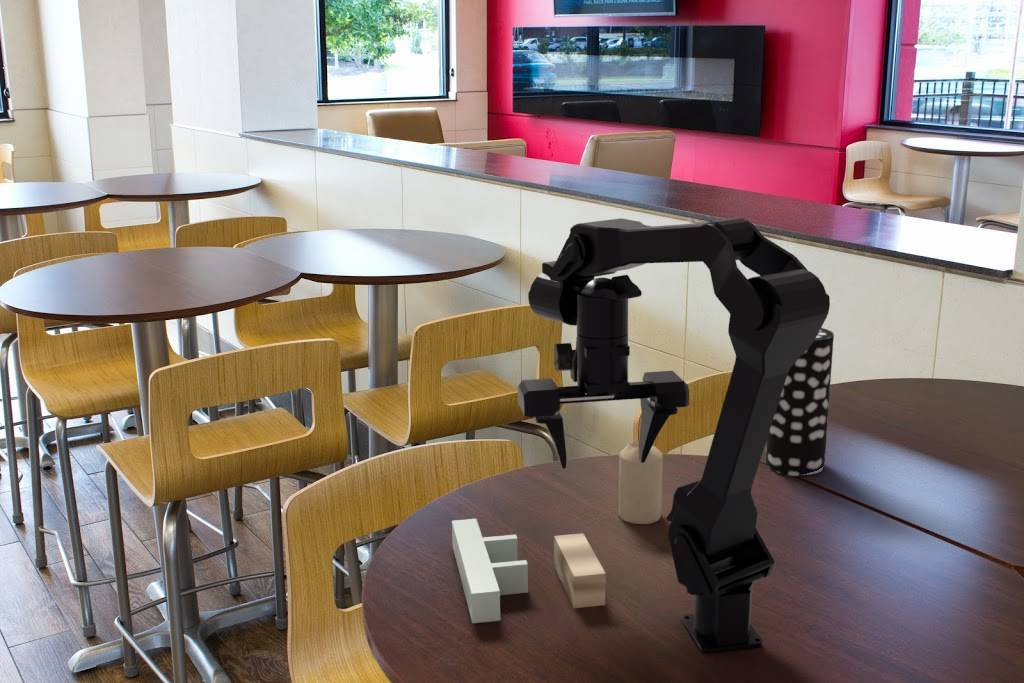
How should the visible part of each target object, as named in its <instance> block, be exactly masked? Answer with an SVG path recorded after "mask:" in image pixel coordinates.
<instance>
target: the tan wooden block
mask: <svg viewBox="0 0 1024 683" xmlns="http://www.w3.org/2000/svg"><path fill="white" fill-rule="evenodd" d="M553 565H554V567H555V571H556V573H557V575H558V577H559V579H560V581H561V583H562V585H563V587H564V590H565V592H566V594H567V596H568V598H569V601H570V602H571V605H572V606H573V609H579V608H588V607H589V608H590V607H599V606H606V580H607V579H606V578H607V577H606V576H607V574H606V573H607V572H605V569H604V568H603V566H602V564H601V563H600V561H599V559H598V557H597V556H596V554H595V552H594V549H593V548H592V546H591V545H590V543H589V541H588V540H587V537H586V536H585V534H584V533H574V534H573V533H571V534H570V533H569V534H561V535H560V534H559V535H554V536H553Z"/></svg>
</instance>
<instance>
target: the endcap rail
mask: <svg viewBox="0 0 1024 683" xmlns="http://www.w3.org/2000/svg"><path fill="white" fill-rule="evenodd" d="M451 531H452V533H451V534H452V550H453V553H454V557H455V562H456V564H457V568H458V572H459V576H460V580H461V584H462V587H463V592H464V596H465V599H466V604H467V608H468V611H469V615H470V620H471V624H480V623H491V622H499V621H501V596H505V595H516V594H517V595H518V594H526V593H527V594H528V593H529V564H528V561H527V559H525V560H524V559H523V560H522V559H520V560H519V557H518V556H519V553H518V549H519V548H518V547H519V546H518V545H519V544H518V542H519V541H518V537H517V534H507V535H495V536H484V537H483V536H482V535H483V534H482V532H481V529H480V525H479V523H478V519H477V518H469V519H467V518H466V519H459V520H458V519H456V520H451Z"/></svg>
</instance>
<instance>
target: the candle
mask: <svg viewBox="0 0 1024 683" xmlns="http://www.w3.org/2000/svg"><path fill="white" fill-rule="evenodd" d="M663 459H664V454H663V453H662V452H661V450H659V449H658V447H656V446H654V444H653V445H652V448H651V450H650V452H649V454H648V456H647V458H646V460H645V462H644V463H641V462H640V460H639V440H635V441H633V442H632V443H628V444H627V445H626V446H625V447H623V449H622V450H620V452H619V466H618V468H619V469H618V470H619V471H618V472H619V474H618V516H619V518H620V520H622V521H624V522H626V523H629V524H633V525H650V524H654V523H656V522H659V520H660V519H661V516H662V499H663V468H664V467H663V464H664V462H663V461H664V460H663Z"/></svg>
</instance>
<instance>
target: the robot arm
mask: <svg viewBox="0 0 1024 683" xmlns="http://www.w3.org/2000/svg"><path fill="white" fill-rule="evenodd" d="M737 261H739V262H740V263H741V264H742V265H743V266H744V267H745V268H746V269H747V268H748V269H749V270H750V271H752V272H754V273H755V274H757V275H758V276H754V277H753V276H752V277H750V278H747V277H746V275H745V274H744V273H743V272H742V271H741V270H740V268H739V267H738V265H737ZM697 262H699V263H701V262H702V263H704V265H705V266H706V268H707V269H708V270H709V272H710V273H709V274H710V278H711V283H712V284H711V285H712V289H713V293H714V296H715V297H716V298H717V299H718V301H720V303H721V304H722V306H723V307H724V308H725V309H726V310H727V311H728V313H729V322H728V328H727V330H728V331H727V332H728V336H729V339H730V342H731V344H732V347H733V348H732V349H733V351H734V353H735V359H734V364H733V368H732V371H731V375H730V379H729V382H728V385H727V388H726V391H725V396H724V398H723V403H722V406H721V409H720V413H719V417H718V418H717V419H718V420H717V424H716V426H715V431H714V432H713V437H712V440H711V445H710V448H709V452H708V454H707V457H706V458H707V459H706V462H705V465H704V469H703V473H702V476H701V477H700V479H699V480H697V481H694V482H691V483H688V484H685V485H681V486H678V487H677V488H676V490H675V492H674V494H673V501H672V506H671V510H670V512H669V514H668V515H667V516H666V517H665V519H666V521H667V522H670V523H669V524H668V525H669V526H668V533H667V534H668V540H669V546H670V551H671V554H672V558H673V559H672V560H673V563H674V564H673V565H674V568H675V573H676V577H677V582H678V583H680V584H681V585H682V586H684V587H685V589H686V592H687V594H689V595H690V596H692V595H693V596H694V602H693V603H694V606H693V614H692V613H691V614H685V615H683V616H682V618H681V621H682V623H683V625H684V626H685V628H686V630H687V631H688V632H689V635H690V636H691V637H692V639H693V640H694V642H695V644H696V645H697V647H698V649H699V650H700V651H701V652H703V653H713V652H721V651H728V650H739V649H745V648H747V649H748V648H757V647H758V648H759V647H761V646H763V639H762V638H761V636H760V635H759V633H758V632H757V631H756V629H755V628H754V627H753V625H752V624H751V617H752V616H751V615H752V599H753V598H752V597H753V582H755V581H757V580H760V579H762V578H767V577H770V575H771V572H772V570H773V569H774V568H773V567H774V565H775V559H774V558H773V556H772V554H771V552H770V551H769V549H768V547H767V546H766V543H765V541H764V540H763V539H762V537H761V535H760V533H759V531H758V530H757V528H756V527H757V520H758V509H757V506H756V502H755V501H754V498H753V495H752V487H753V485H754V481H755V478H756V475H757V472H758V468H759V465H760V463H761V459H762V457H763V453H764V449H765V448H766V441H767V437H768V434H769V431H770V428H771V425H772V422H773V419H774V415H775V412H776V409H777V406H778V403H779V400H780V397H781V393H782V390H783V387H784V384H785V381H786V378H787V375H788V372H789V370H790V368H791V367H792V365H793V364H794V363H795V362H796V361H797V360H798V359H799V358H800V357H801V356H802V354H803V353H804V352H805V351H806V350H807V349H808V348H809V347H810V346H811V345H812V343H813V342H814V340H815V338H816V337H817V335H818V333H819V331H820V329H821V328H823V327H822V326H823V325H824V323H825V322H826V319H827V318H828V315H829V313H830V312H829V311H830V306H831V302H830V299H831V298H830V295H829V294H828V293H827V292H826V289H825V286H824V283H823V282H822V281H821V279H820V278H819V277H818V276H817V275H816V274H814V273H813V272H812V271H809V270H808V269H807V267H806V266H805V265H804V264H803V263H802V262H801V260H799V258H798V257H797V256H795V254H793V253H791V252H789V250H787V249H785V248H783V247H782V246H780V245H778V244H777V243H775V242H773V241H772V240H770V239H769V238H767V237H765V236H764V235H763V234H762V233H761V232H760V230H759V229H758V228H757V227H756V226H755V225H754V224H753V223H752V222H751V221H749V220H748V219H744V218H743V217H738V216H737V217H731V218H724V219H715V220H710V221H709V220H708V221H707V222H695V223H692V222H691V223H682V224H680V223H679V224H670V225H669V224H668V225H667V224H665V225H654V226H653V225H652V226H651V225H646V224H644V223H642V222H641V221H640V220H639V221H637V220H633V219H628V218H614V219H613V218H612V219H605V220H598V221H595V220H594V221H589V222H581V223H576V224H573V226H572V227H570V230H569V235H568V237H567V239H566V240H565V243H564V245H563V246H562V249H561V251H560V253H559V254H558V256H557V259H556V260H554V261H553V260H552V261H547V262H542V264H541V273H539V274H538V275H537V276H536V277H535V279H534V280H533V281H532V283H531V286H530V290H529V291H528V294H527V295H528V296H527V299H528V303H529V304H528V305H529V307H530V309H531V310H532V311H533V313H534V314H536V315H537V316H538V317H541V318H544V319H548V320H551V321H555V322H558V323H562V324H565V325H568V326H576V341H575V348H574V349H573V347H572V346H573V345H572V343H571V342H565V343H561V342H560V343H555V344H554V346H553V351H554V352H553V359H554V360H553V362H554V369H555V371H556V372H563V371H564V372H565V371H566V372H567V371H570V379H572V381H573V382H574V383H576V384H577V385H569V386H567V385H566V386H557V385H556V383H555V381H554V380H553V378H551V377H549V378H548V377H547V378H535V379H523V380H521V382H520V383H519V384H518V386H517V402H518V404H519V407H520V410H521V411H522V414H523V416H524V417H527V418H534V421H535V423H537V424H540V425H542V424H543V425H545V427H546V428H547V430H548V432H549V435H550V437H551V441H552V443H553V446H554V449H555V452H556V455H557V459H558V461H559V464H560V465H561V468H562V469H566V468H567V449H566V448H567V447H566V438H565V436H566V435H565V429H564V418H563V416H562V415H561V412H560V411H559V410H560V409H561V405H563V404H578V403H590V402H591V403H596V402H608V401H610V402H611V401H625V400H640V409H641V415H640V416H641V417H640V418H641V419H640V426H639V427H640V428H639V439H638V441H639V460H640V462H641V463H644V462H645V460H646V458H647V456H648V454H649V452H650V450H651V448H652V445H653V446H654V444H655V441H656V439H657V437H658V434H659V433H660V431H661V430H662V428H663V427H664V426H665V423H667V421H668V419H669V417H670V416H673V415H677V414H678V408H686V407H688V406H690V389H689V385H688V384H687V383H686V382H685V381H684V380H683V379H682V378H681V377H680V376H679V375H678V374H677V373H676V372H675V371H673V370H662V371H661V370H660V371H645V372H644V374H643V377H642V381H633V382H629V356H630V351H631V349H630V348H631V347H630V345H629V300H630V299H635V298H639V297H641V296H642V295H643V294H642V293H643V292H642V290H641V289H640V288H639V286H638V285H636V283H634V282H633V280H632V279H631V278H630V275H628V274H622V275H617V276H612V278H608V277H601V276H607V275H613V274H615V273H617V272H619V271H627V270H630V269H634V268H637V267H640V266H644V265H645V264H662V263H663V264H664V263H665V264H666V263H668V264H669V263H671V264H673V263H697ZM595 277H598V278H595Z"/></svg>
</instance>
